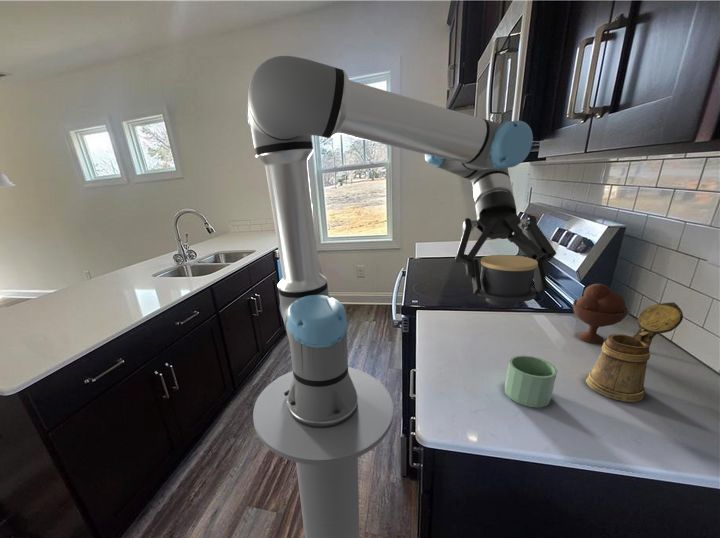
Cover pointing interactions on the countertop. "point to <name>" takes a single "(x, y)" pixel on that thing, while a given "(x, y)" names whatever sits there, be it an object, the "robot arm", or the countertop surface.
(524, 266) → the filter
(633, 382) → the wooden mug
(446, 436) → the countertop surface
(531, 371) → the cup
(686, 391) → the countertop surface
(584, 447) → the countertop surface
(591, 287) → the ice cream bowl
